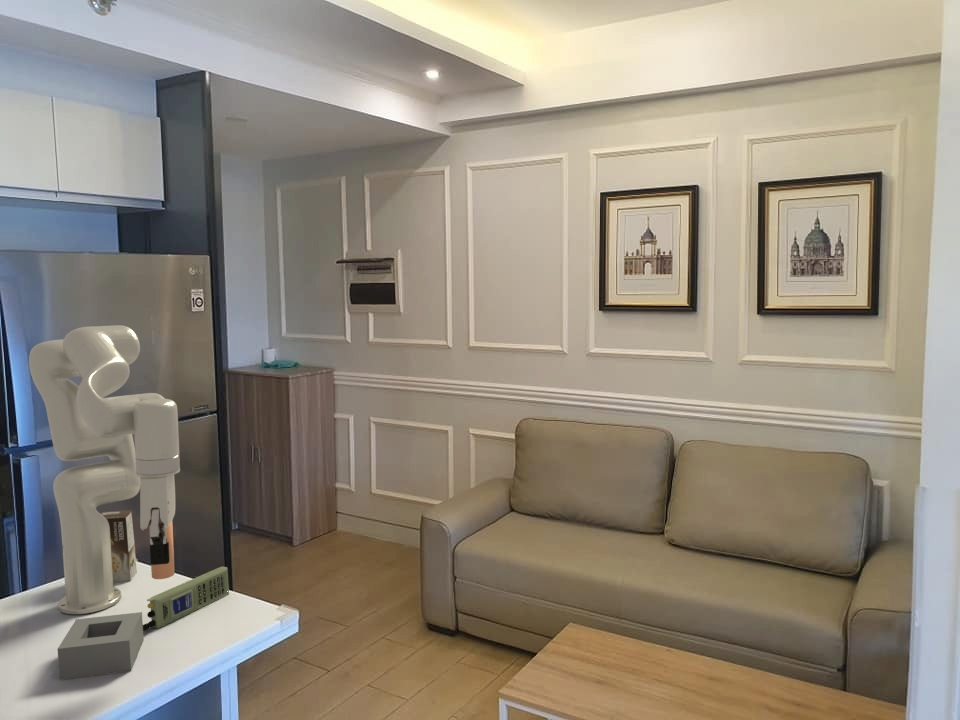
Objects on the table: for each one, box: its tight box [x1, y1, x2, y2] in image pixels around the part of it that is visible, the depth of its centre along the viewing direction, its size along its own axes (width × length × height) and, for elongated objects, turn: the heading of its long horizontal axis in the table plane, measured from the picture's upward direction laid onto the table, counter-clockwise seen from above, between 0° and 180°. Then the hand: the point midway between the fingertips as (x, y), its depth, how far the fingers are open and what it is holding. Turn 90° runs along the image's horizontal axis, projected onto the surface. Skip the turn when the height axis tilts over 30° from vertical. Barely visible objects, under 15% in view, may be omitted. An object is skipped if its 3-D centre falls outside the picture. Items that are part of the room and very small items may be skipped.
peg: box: [148, 521, 175, 580], centre depth 137 cm, size 4×4×12 cm
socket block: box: [57, 611, 144, 681], centre depth 139 cm, size 12×12×6 cm
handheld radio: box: [143, 566, 230, 632], centre depth 157 cm, size 7×3×25 cm
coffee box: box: [98, 509, 138, 583], centre depth 177 cm, size 9×6×16 cm
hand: (162, 558), depth 137 cm, fingers closed on peg, 4 cm apart
